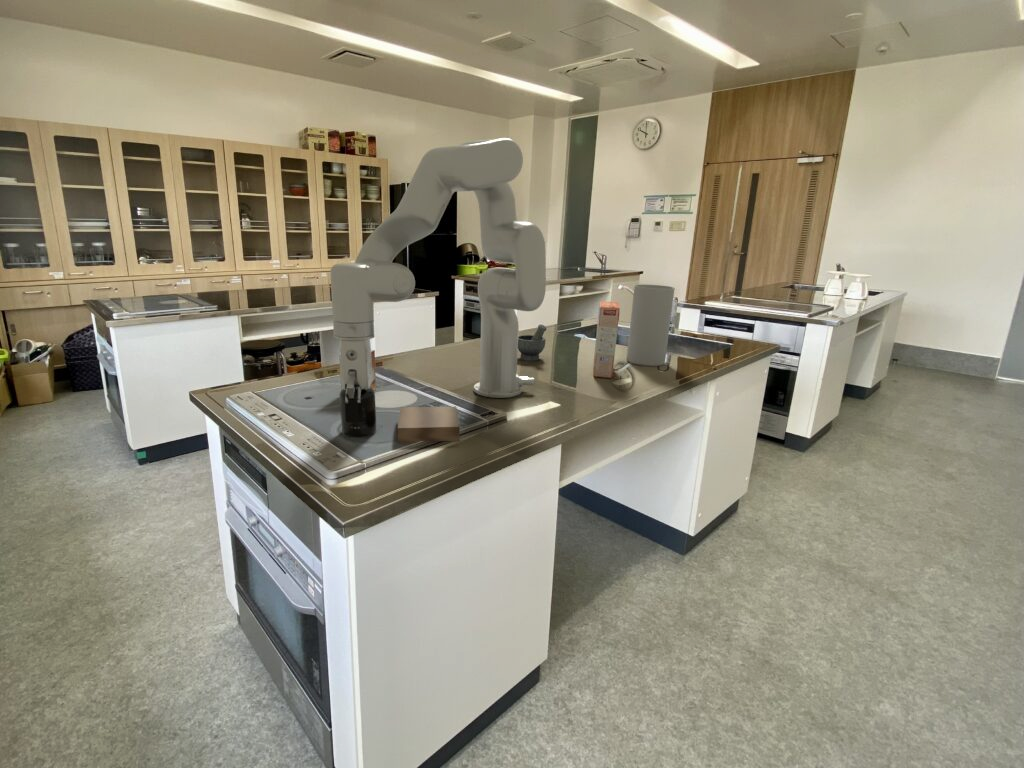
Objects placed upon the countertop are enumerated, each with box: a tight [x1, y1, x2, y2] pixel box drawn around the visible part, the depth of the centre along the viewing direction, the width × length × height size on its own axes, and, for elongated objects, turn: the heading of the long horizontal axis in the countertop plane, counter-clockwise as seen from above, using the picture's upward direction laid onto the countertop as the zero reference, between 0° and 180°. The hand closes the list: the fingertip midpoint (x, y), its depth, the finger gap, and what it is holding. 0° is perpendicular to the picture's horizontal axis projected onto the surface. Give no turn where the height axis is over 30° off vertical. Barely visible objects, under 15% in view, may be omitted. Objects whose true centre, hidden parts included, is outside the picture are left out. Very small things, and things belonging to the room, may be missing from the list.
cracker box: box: [593, 300, 621, 379], centre depth 154 cm, size 14×6×21 cm, turn 171°
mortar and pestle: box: [518, 324, 547, 362], centre depth 168 cm, size 11×9×12 cm
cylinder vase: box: [626, 284, 675, 367], centre depth 168 cm, size 12×12×25 cm
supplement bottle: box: [338, 373, 377, 439], centre depth 103 cm, size 7×7×12 cm
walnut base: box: [397, 406, 461, 443], centre depth 106 cm, size 12×12×3 cm
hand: (357, 413), depth 103 cm, fingers open, 9 cm apart
